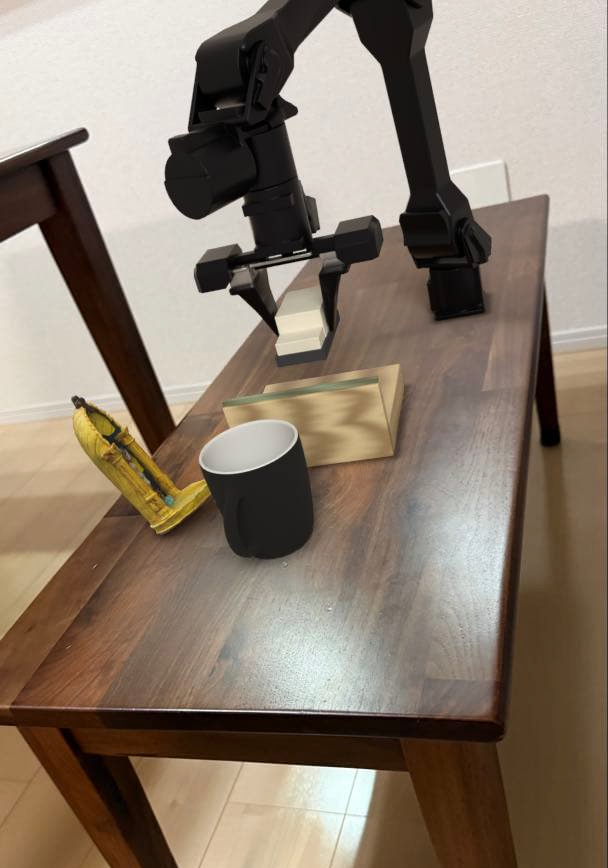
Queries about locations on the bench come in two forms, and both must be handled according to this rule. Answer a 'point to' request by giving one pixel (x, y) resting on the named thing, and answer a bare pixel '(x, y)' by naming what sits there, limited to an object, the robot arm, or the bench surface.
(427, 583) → the bench surface
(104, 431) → the shrine
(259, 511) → the mug
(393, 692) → the bench surface
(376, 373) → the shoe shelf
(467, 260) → the robot arm
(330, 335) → the cream stepped block
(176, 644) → the bench surface
